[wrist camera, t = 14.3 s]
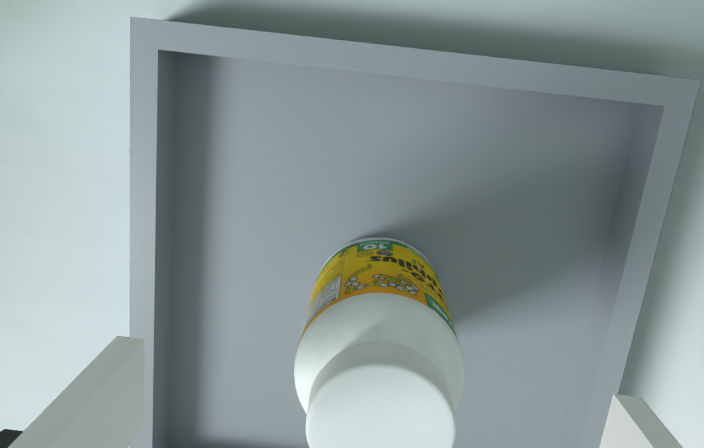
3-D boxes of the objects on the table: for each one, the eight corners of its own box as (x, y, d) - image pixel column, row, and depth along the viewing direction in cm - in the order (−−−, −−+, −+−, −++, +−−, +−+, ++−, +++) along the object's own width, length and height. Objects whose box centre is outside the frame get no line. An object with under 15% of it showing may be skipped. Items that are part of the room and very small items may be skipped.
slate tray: (151, 453, 27) (129, 489, 25) (158, 23, 22) (130, 16, 20) (559, 504, 27) (577, 546, 24) (665, 79, 22) (701, 79, 19)
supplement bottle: (291, 304, 24) (238, 447, 15) (364, 207, 23) (354, 297, 14) (391, 371, 25) (398, 548, 15) (467, 281, 23) (525, 415, 14)
